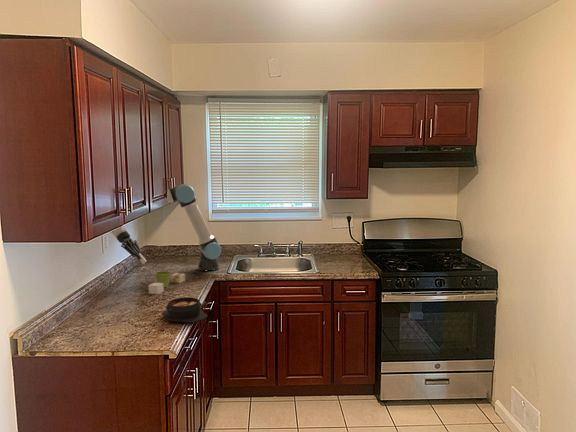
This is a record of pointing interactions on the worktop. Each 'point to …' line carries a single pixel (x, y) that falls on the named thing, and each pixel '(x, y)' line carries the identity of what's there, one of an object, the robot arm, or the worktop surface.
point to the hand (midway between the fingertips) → (144, 262)
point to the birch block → (178, 277)
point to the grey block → (156, 288)
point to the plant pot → (163, 277)
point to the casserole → (184, 310)
